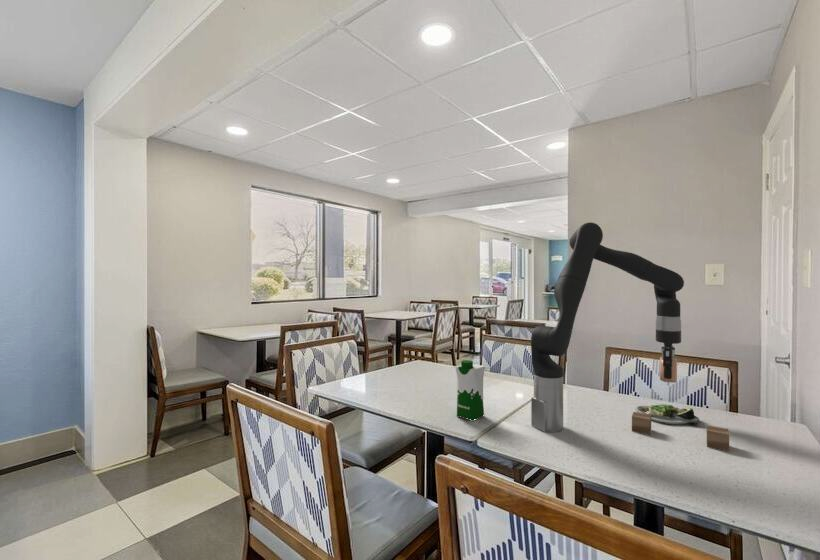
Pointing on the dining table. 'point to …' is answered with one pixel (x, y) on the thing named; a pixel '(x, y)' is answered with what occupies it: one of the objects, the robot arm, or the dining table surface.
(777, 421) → the dining table surface
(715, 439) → the front walnut cube
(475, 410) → the milk carton
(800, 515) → the dining table surface
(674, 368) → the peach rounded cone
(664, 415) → the salad plate
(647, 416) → the back walnut cube
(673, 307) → the robot arm
